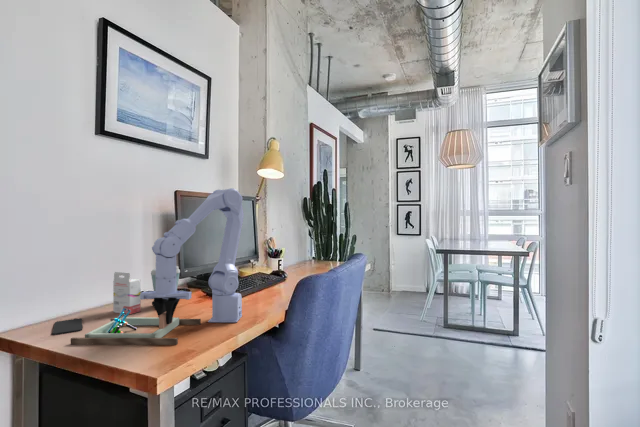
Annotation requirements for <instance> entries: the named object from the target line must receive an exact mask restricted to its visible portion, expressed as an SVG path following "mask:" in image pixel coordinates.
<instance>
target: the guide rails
mask: <svg viewBox="0 0 640 427" xmlns="http://www.w3.org/2000/svg"><path fill="white" fill-rule="evenodd" d="M114 319H115V318H111V319H110V322H111V321H113V320H114ZM201 321H202V320H201V318H179V325H193V326H194V325H196V326H199V325H202V322H201ZM178 340H179V339H178V337H162V338H85V337H71V338H70V345H76V346H77V345H79V346H80V345H81V346H82V345H93V346H95V345H99V346H100V345H103V346H105V345H108V346H109V345H110V346H112V345H113V346H114V345H115V346H116V345H117V346H121V345H122V346H129V345H131V346H134V345H135V346H138V345H139V346H144V345H145V346H150V345H151V346H152V345H153V346H163V345H164V346H177V345H178V343H179V341H178Z"/></svg>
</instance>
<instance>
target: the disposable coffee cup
mask: <svg viewBox="0 0 640 427" xmlns="http://www.w3.org/2000/svg"><path fill="white" fill-rule="evenodd" d="M179 267H180V266H178V265H176V277H177V280H176V291H178V286H179V280H180V273H181V269H179ZM150 276H151V281H152V289H153V291H156V268H154V269H152V270H151V271H150Z"/></svg>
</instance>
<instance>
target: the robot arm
mask: <svg viewBox="0 0 640 427" xmlns="http://www.w3.org/2000/svg"><path fill="white" fill-rule="evenodd" d="M243 199H244V198H243V196H242V195H241V193H240V191H238V189H236V188H233V187H232V188H225V189H216V190H214V191H213V192H211V193H210V194H209V195H208V196H207V197H206V199H205V200H204V201H203V202H202V203H201V204H200V205H199V206H198V207H197V208H196V209H195V210H194V212H192V213H191V215H189V216H188V218H181V219H177V220H176V221H175V222H174V225H173V226H172V228H171V229H169V230H168V231H165V232H164V233H163V237H159V238H157V239H156V240H155V241H154V244H153V245H152V247H151V250H152V253H153V254H154V255H155V269H156V291H154V290H151V291H150V290H149V291H141V292H140V300H152V299H153V301H152V302H151V305H152V306H153V307H154V309H155V312H156V314H157V316H158V317H157V318H159V315H161V314H163V313H164V312H166V324H170V323H171V322H172V318H174V314H175V311H176V309H177V306H178V304H179V302H180V301H181V300H191V299H192V291H184V290H177V291H176V280H177V277H176V266H177V255H178V254H179V253H180V251H181V248H182V246H183V245H184V244H185V243H186V242H187V241H188V240H189V238H191V237H192V235H194V234H195V233H196V230H197V229H196V227H197V226H198V225H199V224H200V223H202V221H203V220H204V219H205V218H207V217H208V216H209V215H210V214H211V213H212V212H213V211H215V210H219V211H220V212H222V213H223V215H224V216H225V218H226V222H225V228H224V233H223V238H222V241H221V242H222V243H221V248H220V252H219V253H220V254H219V258H218V263H217V264H216V265H215V266H214V267H213V270H212V272H211V275H210V276H209V278H208V287H210V289H211V293H212V299H211V300H212V303H211V304H212V305H211V306H212V307H211V308H212V310H211V311H212V312H211V313H212V315H211V316H212V317H210V319H208V321H207V322H208V323H238V321H239V320H240V319H241V318H242V316H243V312H242V311H243V310H242V309H243V297H242V294H241V293H239V292H236V290H238V288H239V278H238V277H239V276H238V275H239V270H238V269H237V267H236V266H235V265H236V260H237V254H238V249H239V245H240V244H239V243H240V239H241V233H242V227H243V222H244V218H245V214H244V208H243Z"/></svg>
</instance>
